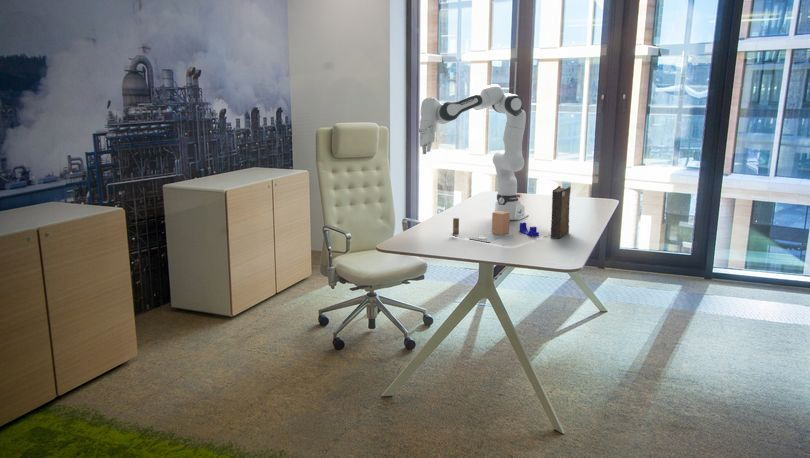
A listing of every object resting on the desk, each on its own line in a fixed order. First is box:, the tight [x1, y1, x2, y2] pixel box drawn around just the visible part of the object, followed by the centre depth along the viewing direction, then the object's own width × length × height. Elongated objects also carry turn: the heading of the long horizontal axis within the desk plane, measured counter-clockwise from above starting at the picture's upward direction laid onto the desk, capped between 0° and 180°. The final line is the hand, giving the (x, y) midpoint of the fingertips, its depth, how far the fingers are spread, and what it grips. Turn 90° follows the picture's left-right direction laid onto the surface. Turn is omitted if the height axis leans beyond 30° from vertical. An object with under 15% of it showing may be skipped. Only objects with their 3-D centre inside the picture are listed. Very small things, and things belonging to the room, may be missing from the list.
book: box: [550, 185, 571, 239], centre depth 331 cm, size 17×7×25 cm, turn 146°
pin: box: [452, 217, 460, 237], centre depth 334 cm, size 3×3×9 cm
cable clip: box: [519, 221, 540, 237], centre depth 333 cm, size 12×4×6 cm, turn 19°
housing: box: [491, 211, 511, 235], centre depth 334 cm, size 6×6×11 cm
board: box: [469, 230, 513, 244], centre depth 329 cm, size 22×12×7 cm, turn 138°
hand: (426, 152), depth 347 cm, fingers open, 8 cm apart
